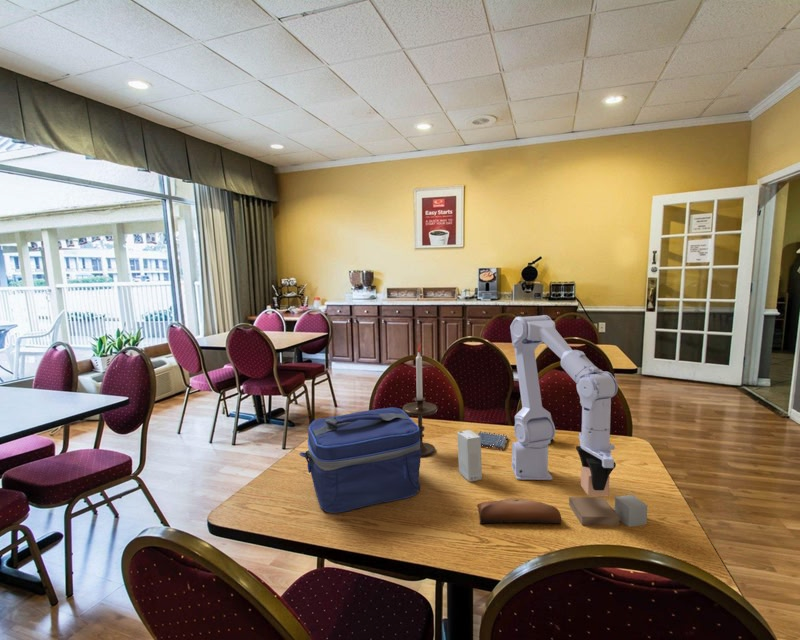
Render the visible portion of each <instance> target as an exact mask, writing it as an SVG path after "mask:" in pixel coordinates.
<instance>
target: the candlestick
mask: <svg viewBox="0 0 800 640" xmlns="http://www.w3.org/2000/svg"><path fill="white" fill-rule="evenodd" d="M421 347H422V343H421V342H420V344H419V346H418V348H417V355H416V357H415V367H416V368H415V369H416V370H415V371H416V372H415V374H416V375H415V376H416V382H415V383H416V397H414V398H413V400H414V401H413V402H412V401H411V402H408V403H405V404H404V405H403V406H402V411H403V412H405V413H406V414H407V415H408V416H415V417H417V426H418V427H419V429H420V448H421V458H424V457H425V458H426V457H430V456H432V455H434V454H435V452H436V451H435V450H436V447H435V445H433V444H431V443H428V442H423V440H424V439H423V438H424V437H425V434H424V433H423V432H424V431H425V426H424V425H423V417H425V416H427V417H428V416H430V415H434V414H436V413H437V411H438V406H437V405H436V404H435V403H433V402H430V401H429V402H427V401H426V400H427V398H426V397H423V356H421Z"/></svg>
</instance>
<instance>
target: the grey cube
mask: <svg viewBox="0 0 800 640" xmlns="http://www.w3.org/2000/svg"><path fill="white" fill-rule="evenodd" d="M648 506H649V505H648V504H646V503H645V502H643V501H642V500H641V499H639V498H637V497H636V496H635V495H634V494H627V495H621V496H614V508H613V510H614V511H615V512H616V513H617V514H618V516H619V517H620V519H619V521H621V522H622V523H623V524H624V525H625V526H626V527H628V528H631V527H637V526H644V525H645V526H646V525H647V524H648Z"/></svg>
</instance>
